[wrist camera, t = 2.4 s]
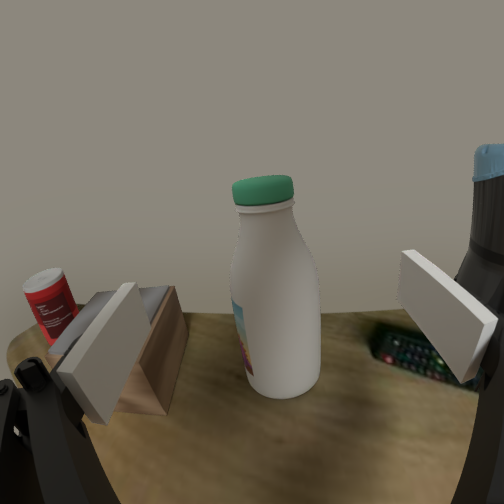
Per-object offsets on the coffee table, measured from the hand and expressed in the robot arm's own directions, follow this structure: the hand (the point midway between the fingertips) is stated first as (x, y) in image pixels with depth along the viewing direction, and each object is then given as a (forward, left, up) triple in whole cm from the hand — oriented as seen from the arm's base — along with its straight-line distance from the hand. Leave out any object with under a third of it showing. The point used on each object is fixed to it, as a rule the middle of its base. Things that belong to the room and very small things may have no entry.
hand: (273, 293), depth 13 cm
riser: (+18, -12, -16) cm, 27 cm away
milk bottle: (0, -10, -16) cm, 19 cm away
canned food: (+34, -19, -16) cm, 42 cm away
